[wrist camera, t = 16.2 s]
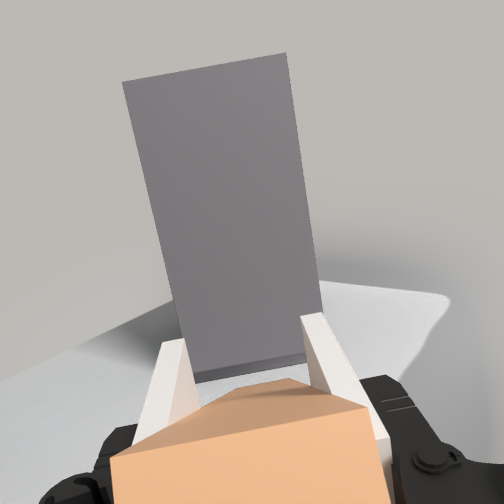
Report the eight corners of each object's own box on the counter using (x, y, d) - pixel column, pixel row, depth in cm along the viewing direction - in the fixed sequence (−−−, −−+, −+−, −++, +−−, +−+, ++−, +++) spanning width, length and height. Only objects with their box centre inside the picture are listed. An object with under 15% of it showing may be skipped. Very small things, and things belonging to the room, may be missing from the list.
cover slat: (422, 636, 6) (367, 407, 7) (132, 695, 6) (109, 458, 7) (297, 419, 33) (289, 378, 34) (244, 430, 33) (236, 388, 34)
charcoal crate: (193, 383, 45) (121, 82, 38) (201, 313, 63) (153, 97, 55) (329, 358, 46) (286, 52, 38) (300, 295, 63) (266, 77, 55)
